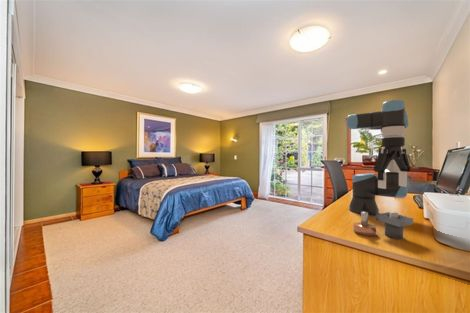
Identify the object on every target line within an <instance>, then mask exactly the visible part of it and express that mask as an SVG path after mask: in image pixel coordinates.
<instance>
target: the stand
mask: <svg viewBox="0 0 470 313" xmlns="http://www.w3.org/2000/svg"><path fill="white" fill-rule="evenodd" d="M389 212H390V217H393V218H398V215H399V212H397V211H389ZM384 235H385V237H388V238H391V239H395V240H403V239H404V226H402V227H398V226H394V225H391V224H388V223H384Z"/></svg>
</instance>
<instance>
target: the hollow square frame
mask: <svg viewBox="0 0 470 313" xmlns="http://www.w3.org/2000/svg"><path fill="white" fill-rule="evenodd" d="M390 212H391V211H389V212H388V211H387V212H384V213H383V212H382V213H379V214H376V215H375V221H379V222H381V223H384V224H385V223H388V224H391V225H394V226H398V227H402V226H403V227H406V226H411V225H414V217H413V218H412V217H410V216H405V215H401V214H398V218H393V217H390Z"/></svg>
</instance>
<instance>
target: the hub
mask: <svg viewBox="0 0 470 313" xmlns="http://www.w3.org/2000/svg"><path fill="white" fill-rule="evenodd" d="M352 227H353V230H352V231H353V233H355V234H357V235H359V236H364V237H376V236H377V226H375V225H373V224H371V223H369V215H368V212H363V211H362V212H361V214H360V222H354V223H353V225H352Z"/></svg>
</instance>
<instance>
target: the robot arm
mask: <svg viewBox="0 0 470 313" xmlns="http://www.w3.org/2000/svg"><path fill="white" fill-rule="evenodd" d="M346 127H347V129H348V130H358V129H362V130H371V131H372V130H373V131H374V130H375V131H376V130H377V131H378V130H380V133H381V137H382V138H381V146H382V148H379V150H378V155H377V158H376V161H375V164H374V167H373V171H374V172H375V173H373V172H372V173H371V172H370V173H369V172H368V173H358V174H354V175H353V176H352V181H351V183H352V198H351V200H350V204H349V205H348V206H349V208H348V209H349V211H351V212H353V213H356V214H359V215H361V212H362V211H363V212H368V216H369V215H370V216H374V215H375V216H376V214H380V212H379V211H380V209H379V206H378V204H377V200H376V196H379V197H386V198H395V199H396V198H397V199H404V198H406V197H407V195H408V191H409V185H410V177H408V172H411V169H412V168H411V165H410V161H409V157H408V155H407V148H403V147H404V146H405V145H406V144H405V143H406V141H405V137H404V136H405V135H406V129H407V128H409V118H408V114H407V110H406V106H405V100H403V99H391V100H386V101H384V102H382V105H381V110H380V111H379V110H378V111H373V112H372V111H371V112H364V113H363V112H362V113H361V112H360V113H353V114H349V115H347V116H346ZM376 173H377V174H376Z"/></svg>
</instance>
